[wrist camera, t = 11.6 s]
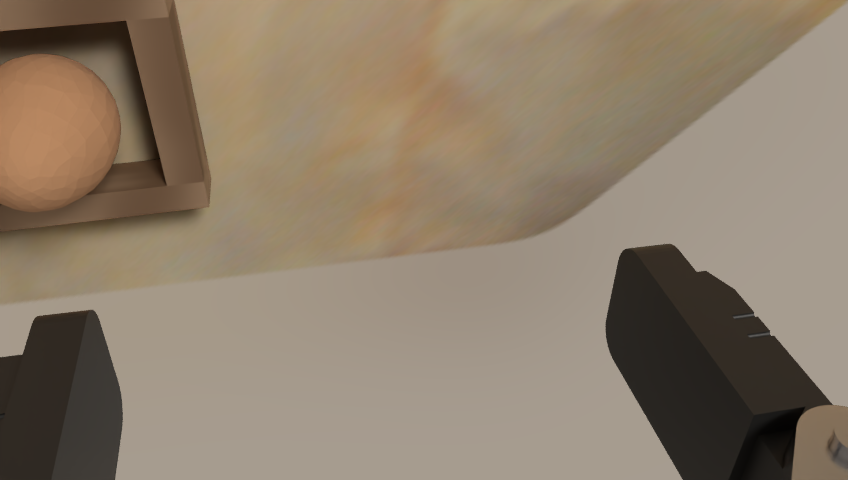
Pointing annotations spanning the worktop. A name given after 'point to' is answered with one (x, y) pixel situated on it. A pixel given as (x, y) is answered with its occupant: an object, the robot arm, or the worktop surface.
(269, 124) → the worktop surface
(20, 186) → the egg
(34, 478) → the robot arm
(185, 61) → the egg rail
